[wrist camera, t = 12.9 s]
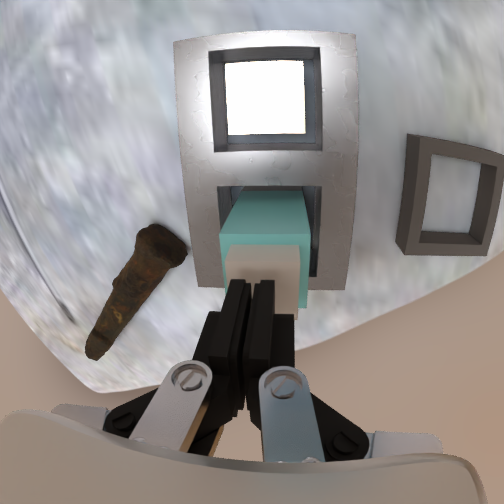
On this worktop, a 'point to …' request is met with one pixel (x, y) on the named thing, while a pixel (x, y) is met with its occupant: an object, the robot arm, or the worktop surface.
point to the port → (262, 122)
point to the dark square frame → (415, 197)
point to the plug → (269, 243)
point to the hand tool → (135, 285)
